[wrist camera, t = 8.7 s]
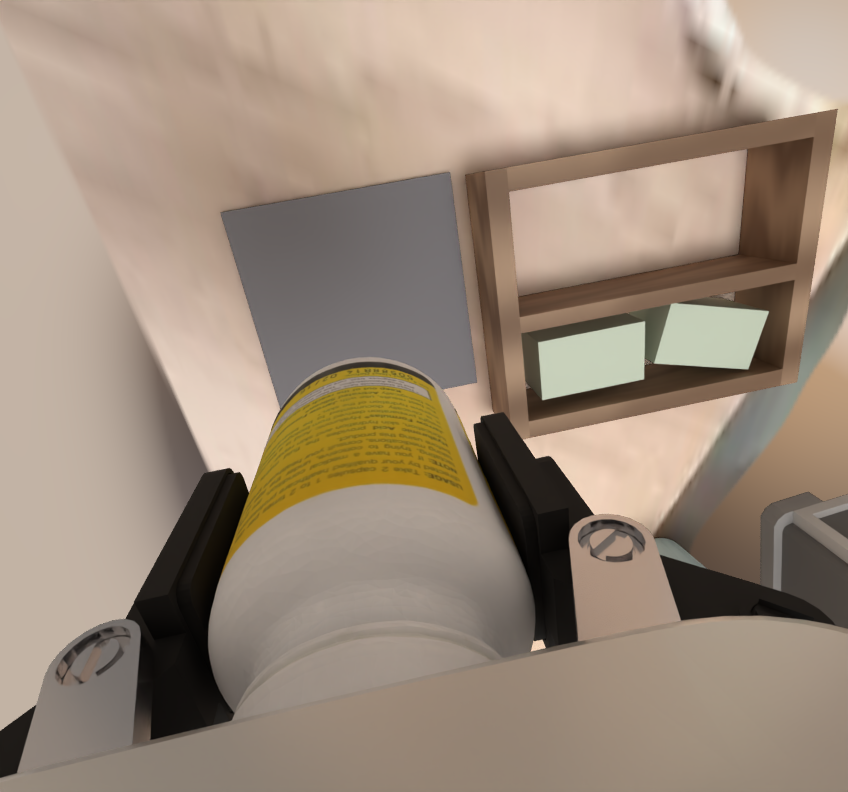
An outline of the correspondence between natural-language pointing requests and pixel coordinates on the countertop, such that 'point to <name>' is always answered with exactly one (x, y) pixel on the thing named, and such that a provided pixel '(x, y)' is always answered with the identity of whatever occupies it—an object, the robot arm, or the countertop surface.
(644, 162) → the rack
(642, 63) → the countertop surface
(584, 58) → the countertop surface
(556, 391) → the offcut
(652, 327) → the offcut
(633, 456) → the countertop surface
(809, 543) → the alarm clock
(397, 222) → the mat
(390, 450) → the supplement bottle
